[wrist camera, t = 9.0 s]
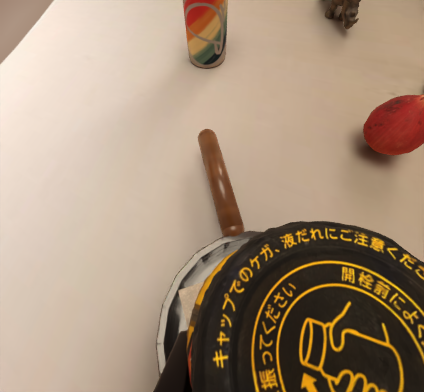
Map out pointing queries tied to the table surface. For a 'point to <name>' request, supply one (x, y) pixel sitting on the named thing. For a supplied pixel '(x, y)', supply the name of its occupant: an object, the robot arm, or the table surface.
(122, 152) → the table surface
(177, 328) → the pan
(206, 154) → the pan handle
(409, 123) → the red fruit
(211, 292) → the condiment
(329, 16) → the rhino figurine
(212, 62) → the lotion bottle
